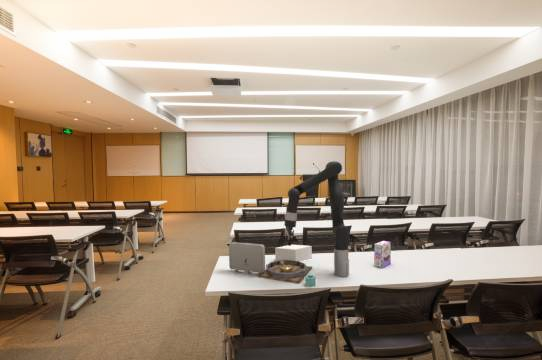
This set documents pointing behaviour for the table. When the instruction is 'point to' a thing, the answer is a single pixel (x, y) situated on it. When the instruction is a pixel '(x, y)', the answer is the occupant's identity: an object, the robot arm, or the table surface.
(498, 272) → the table surface
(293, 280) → the carrier plate
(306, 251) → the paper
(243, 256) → the network device
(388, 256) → the candy box
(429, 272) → the table surface
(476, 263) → the table surface
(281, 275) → the ring gear
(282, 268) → the sun gear
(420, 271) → the table surface
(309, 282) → the teal short hollow cylinder
